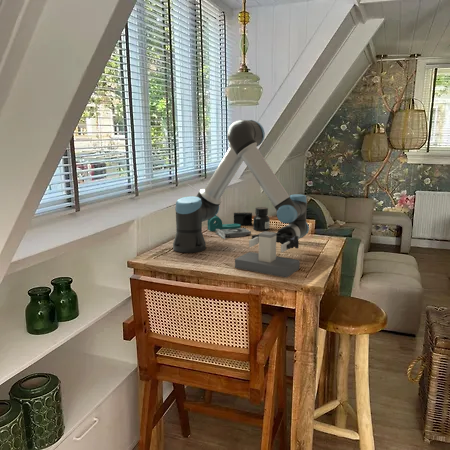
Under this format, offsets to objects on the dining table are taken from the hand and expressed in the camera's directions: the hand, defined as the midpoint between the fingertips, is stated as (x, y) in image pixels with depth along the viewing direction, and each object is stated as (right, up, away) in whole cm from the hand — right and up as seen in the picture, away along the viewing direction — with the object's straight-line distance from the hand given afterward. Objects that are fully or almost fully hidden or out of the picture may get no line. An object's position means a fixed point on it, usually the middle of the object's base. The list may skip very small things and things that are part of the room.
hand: (265, 246), depth 164 cm
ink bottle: (+5, +5, +73) cm, 74 cm away
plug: (+1, -9, +4) cm, 10 cm away
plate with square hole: (+1, -10, +4) cm, 11 cm away
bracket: (-16, +5, +74) cm, 76 cm away
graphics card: (-10, +2, +60) cm, 61 cm away
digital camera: (-5, +8, +84) cm, 85 cm away
